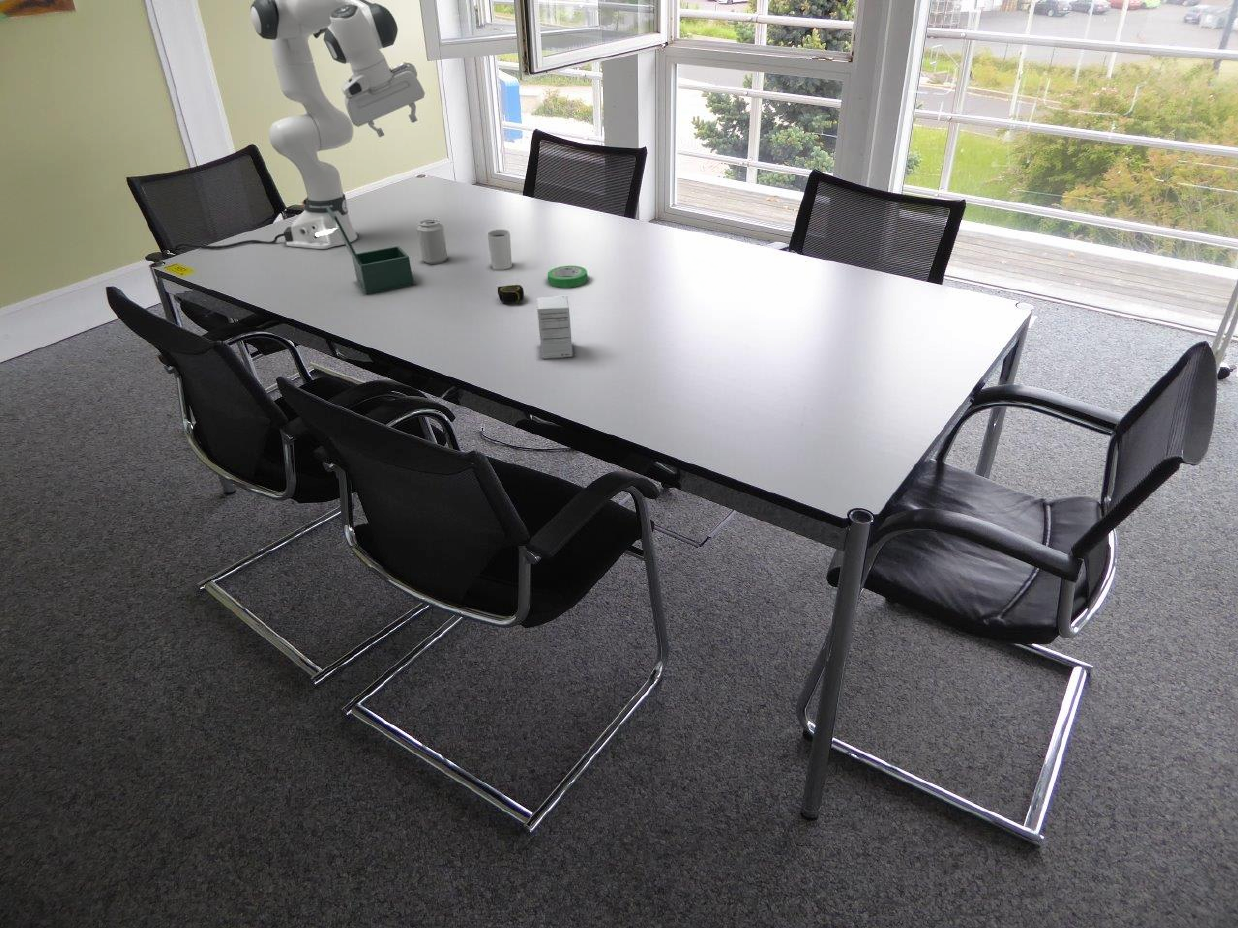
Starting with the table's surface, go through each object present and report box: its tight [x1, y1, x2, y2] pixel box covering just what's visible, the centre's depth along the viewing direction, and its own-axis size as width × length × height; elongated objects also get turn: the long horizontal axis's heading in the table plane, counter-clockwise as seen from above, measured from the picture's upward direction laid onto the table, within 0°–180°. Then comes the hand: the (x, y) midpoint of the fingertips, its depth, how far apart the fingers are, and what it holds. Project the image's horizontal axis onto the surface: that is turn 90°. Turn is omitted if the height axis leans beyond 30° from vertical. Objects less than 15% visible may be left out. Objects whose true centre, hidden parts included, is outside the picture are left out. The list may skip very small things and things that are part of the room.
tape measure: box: [497, 284, 525, 304], centre depth 234 cm, size 7×7×4 cm
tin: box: [351, 245, 415, 295], centre depth 247 cm, size 14×11×8 cm
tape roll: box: [547, 265, 589, 289], centre depth 245 cm, size 11×11×3 cm
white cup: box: [486, 229, 513, 271], centre depth 255 cm, size 7×7×10 cm
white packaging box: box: [536, 295, 573, 360], centre depth 203 cm, size 7×7×13 cm
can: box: [416, 218, 448, 265], centre depth 261 cm, size 8×8×12 cm
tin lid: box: [326, 206, 361, 265], centre depth 238 cm, size 14×11×1 cm
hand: (398, 128), depth 228 cm, fingers open, 8 cm apart
